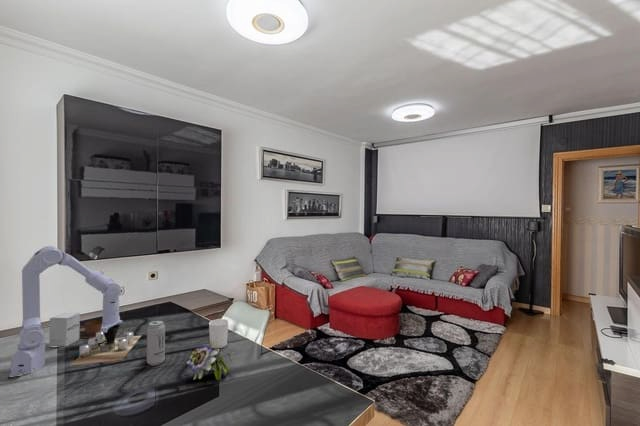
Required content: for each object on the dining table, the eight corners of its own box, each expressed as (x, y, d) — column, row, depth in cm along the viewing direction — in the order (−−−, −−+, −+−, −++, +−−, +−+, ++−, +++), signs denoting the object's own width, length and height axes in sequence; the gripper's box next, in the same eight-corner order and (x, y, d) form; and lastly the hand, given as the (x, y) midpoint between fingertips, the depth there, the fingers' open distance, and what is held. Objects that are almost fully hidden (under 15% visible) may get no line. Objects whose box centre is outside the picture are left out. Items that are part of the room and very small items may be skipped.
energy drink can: (157, 367, 111) (157, 326, 112) (142, 365, 113) (143, 325, 113) (168, 359, 117) (168, 320, 117) (154, 358, 119) (155, 319, 119)
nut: (116, 346, 127) (116, 340, 127) (112, 351, 123) (112, 345, 123) (102, 347, 126) (102, 341, 126) (97, 352, 121) (97, 346, 121)
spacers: (123, 353, 120) (123, 343, 120) (77, 358, 116) (77, 348, 116) (137, 336, 137) (137, 327, 137) (97, 340, 133) (97, 331, 133)
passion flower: (196, 397, 104) (176, 362, 106) (223, 374, 114) (204, 342, 116) (214, 386, 97) (193, 349, 99) (241, 363, 108) (221, 330, 110)
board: (122, 361, 116) (122, 359, 116) (69, 367, 111) (69, 365, 111) (141, 337, 139) (141, 335, 139) (98, 341, 134) (98, 339, 134)
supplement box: (65, 348, 127) (66, 317, 127) (48, 348, 127) (48, 317, 127) (80, 340, 135) (80, 312, 135) (63, 340, 135) (64, 312, 135)
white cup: (231, 341, 134) (231, 319, 134) (223, 349, 126) (223, 325, 126) (213, 341, 135) (214, 318, 135) (205, 348, 127) (205, 324, 127)
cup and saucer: (83, 343, 133) (83, 329, 133) (74, 336, 140) (74, 323, 140) (114, 334, 142) (114, 321, 142) (105, 328, 149) (105, 316, 149)
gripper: (115, 315, 122) (114, 350, 122) (127, 305, 136) (127, 336, 135) (94, 317, 120) (94, 352, 120) (109, 306, 134) (109, 337, 134)
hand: (110, 343), depth 127 cm, fingers closed
